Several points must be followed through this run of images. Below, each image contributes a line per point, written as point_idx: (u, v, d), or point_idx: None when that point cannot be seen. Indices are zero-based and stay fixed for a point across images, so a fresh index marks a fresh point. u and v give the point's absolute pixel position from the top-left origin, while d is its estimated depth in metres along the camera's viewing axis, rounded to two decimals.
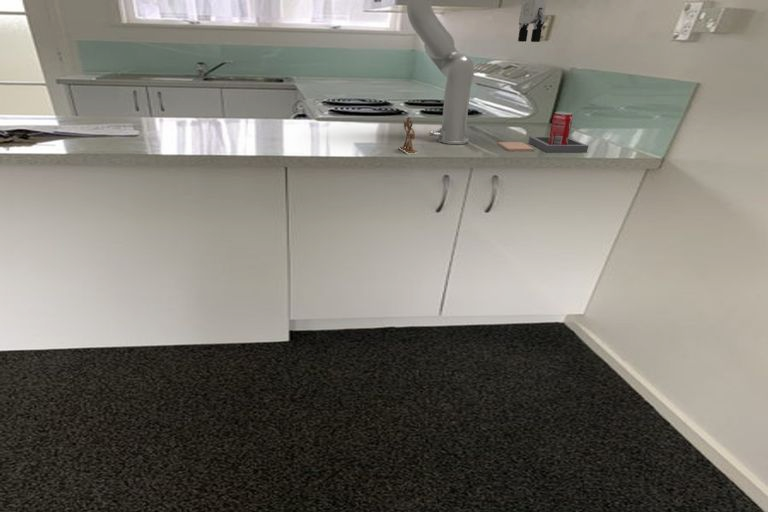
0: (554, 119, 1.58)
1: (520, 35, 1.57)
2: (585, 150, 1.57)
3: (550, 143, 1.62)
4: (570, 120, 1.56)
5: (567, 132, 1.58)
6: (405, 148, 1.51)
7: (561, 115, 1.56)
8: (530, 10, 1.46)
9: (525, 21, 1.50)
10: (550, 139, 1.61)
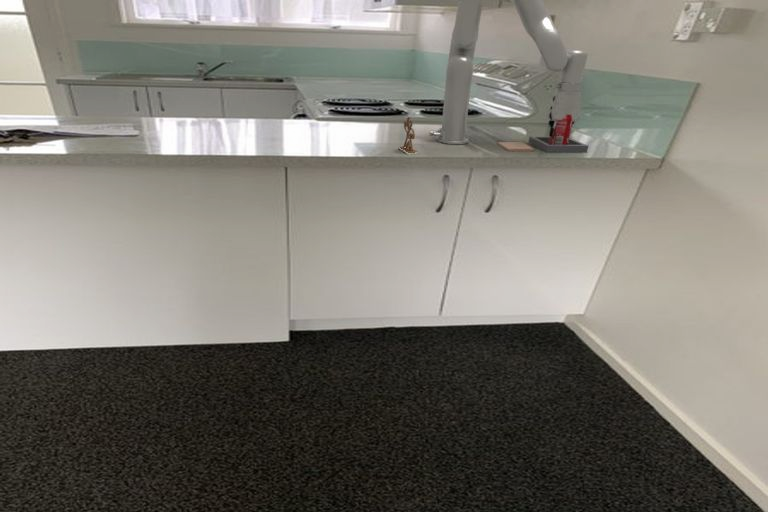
0: None
1: None
2: (585, 150, 1.57)
3: (551, 143, 1.62)
4: (571, 120, 1.56)
5: (568, 132, 1.58)
6: (405, 148, 1.51)
7: None
8: (575, 110, 1.55)
9: None
10: (551, 139, 1.61)
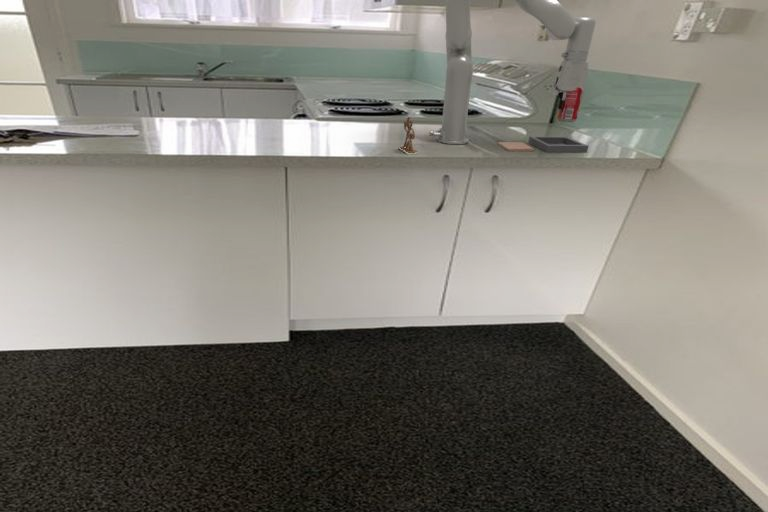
0: None
1: None
2: (585, 150, 1.57)
3: (560, 116, 1.57)
4: (581, 91, 1.52)
5: (578, 104, 1.54)
6: (405, 148, 1.51)
7: None
8: (582, 80, 1.50)
9: None
10: (560, 112, 1.57)
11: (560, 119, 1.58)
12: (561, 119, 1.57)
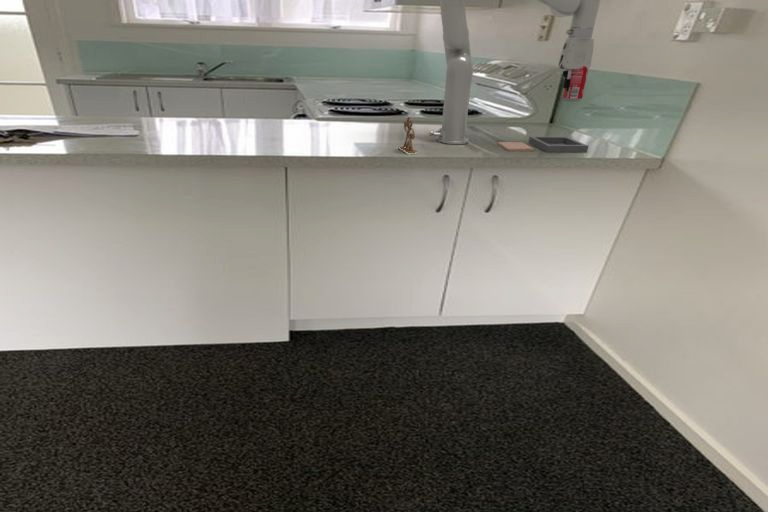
0: None
1: None
2: (585, 150, 1.57)
3: (566, 95, 1.54)
4: (587, 69, 1.49)
5: (584, 83, 1.51)
6: (405, 148, 1.51)
7: None
8: (587, 58, 1.47)
9: None
10: (566, 91, 1.53)
11: (565, 99, 1.54)
12: (566, 99, 1.54)
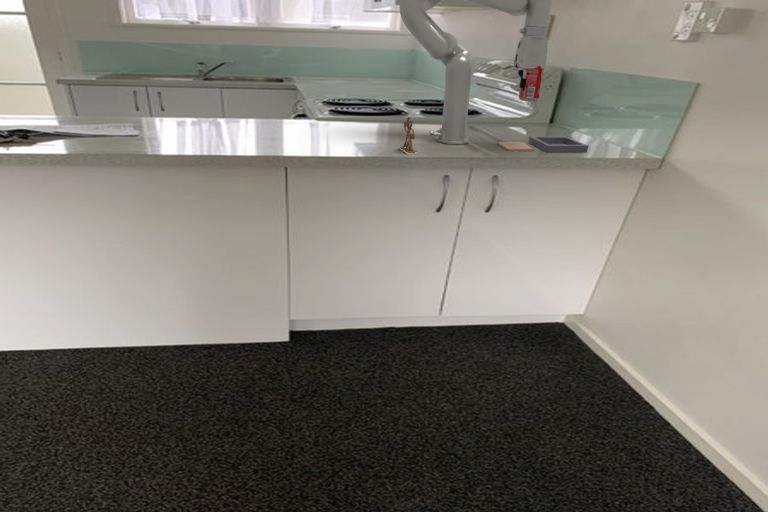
0: None
1: (525, 84, 1.50)
2: (585, 150, 1.57)
3: (522, 95, 1.52)
4: (542, 69, 1.47)
5: (539, 82, 1.49)
6: (405, 148, 1.51)
7: None
8: (542, 57, 1.45)
9: (533, 67, 1.46)
10: (522, 91, 1.52)
11: (522, 98, 1.52)
12: (523, 98, 1.52)
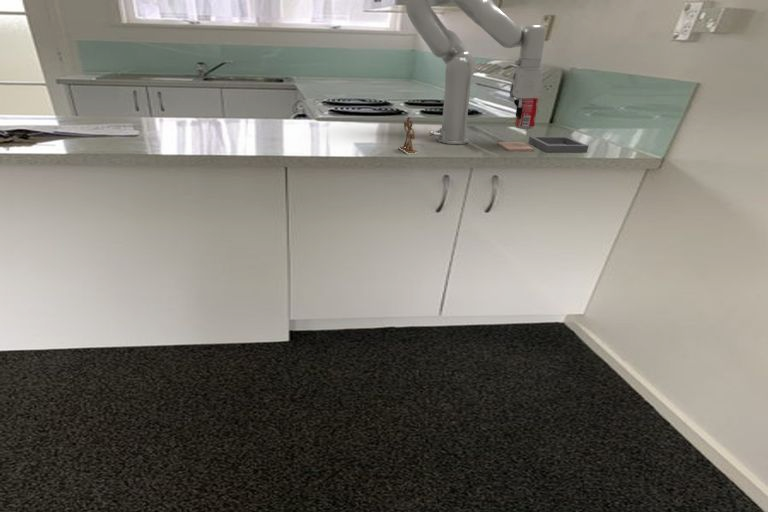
0: None
1: (521, 113, 1.54)
2: (585, 150, 1.57)
3: (518, 123, 1.56)
4: (537, 98, 1.52)
5: (535, 111, 1.54)
6: (405, 148, 1.51)
7: None
8: (537, 87, 1.49)
9: (529, 97, 1.51)
10: (518, 119, 1.56)
11: (518, 126, 1.57)
12: (519, 126, 1.57)
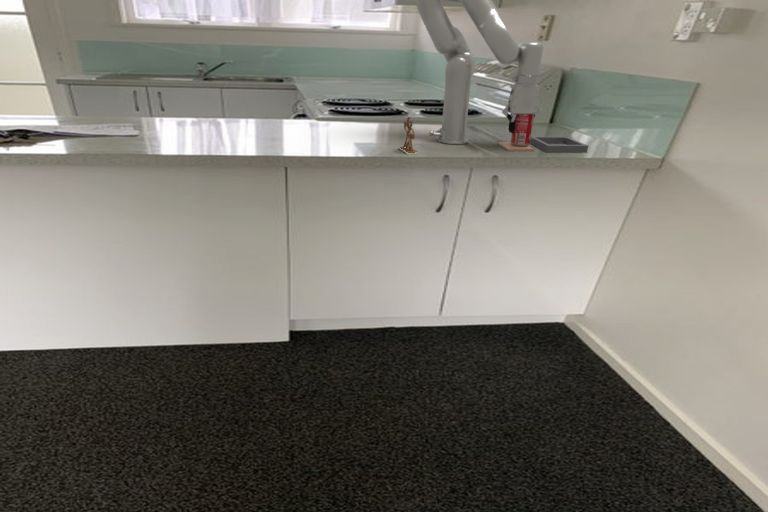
0: (516, 116, 1.56)
1: (514, 127, 1.57)
2: (585, 150, 1.57)
3: (514, 141, 1.60)
4: (532, 117, 1.55)
5: (530, 129, 1.57)
6: (405, 148, 1.51)
7: None
8: (533, 103, 1.52)
9: (526, 112, 1.53)
10: (513, 137, 1.59)
11: (514, 144, 1.60)
12: (515, 144, 1.60)
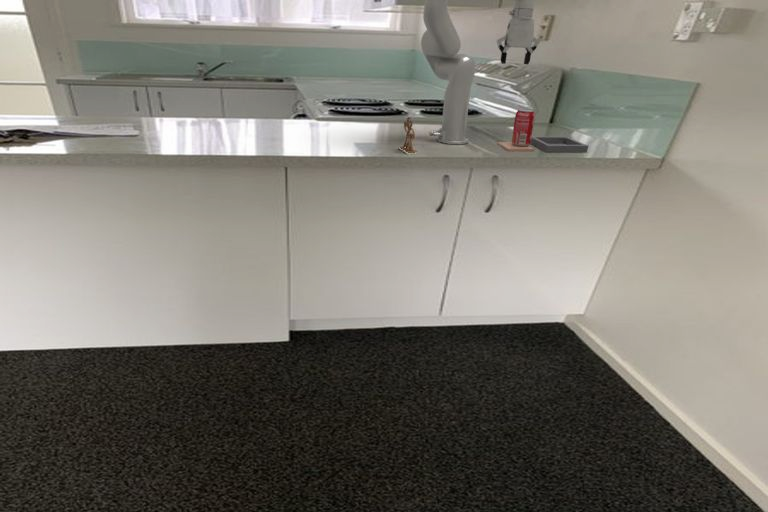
0: (518, 116, 1.56)
1: (505, 58, 1.66)
2: (585, 150, 1.57)
3: (515, 141, 1.60)
4: (533, 117, 1.55)
5: (531, 129, 1.57)
6: (405, 148, 1.51)
7: (525, 112, 1.54)
8: (529, 36, 1.62)
9: (522, 46, 1.63)
10: (514, 137, 1.59)
11: (514, 144, 1.60)
12: (515, 144, 1.60)
